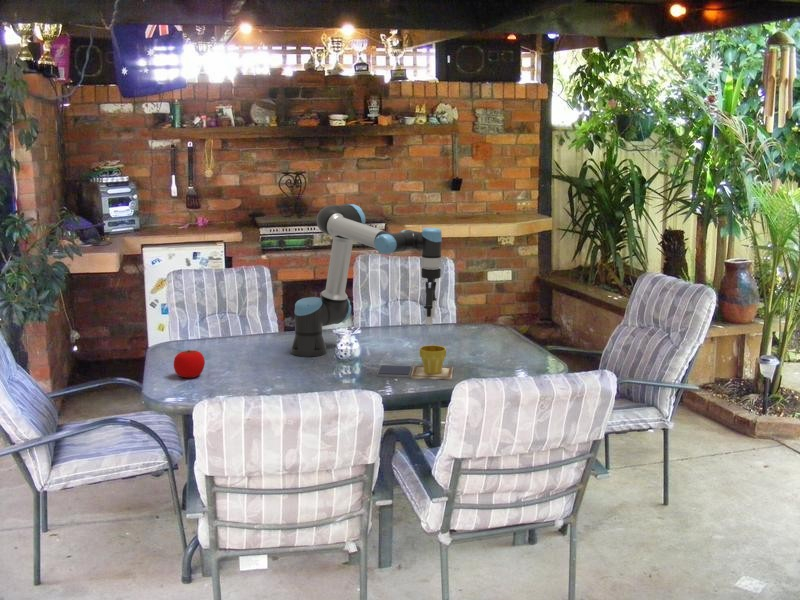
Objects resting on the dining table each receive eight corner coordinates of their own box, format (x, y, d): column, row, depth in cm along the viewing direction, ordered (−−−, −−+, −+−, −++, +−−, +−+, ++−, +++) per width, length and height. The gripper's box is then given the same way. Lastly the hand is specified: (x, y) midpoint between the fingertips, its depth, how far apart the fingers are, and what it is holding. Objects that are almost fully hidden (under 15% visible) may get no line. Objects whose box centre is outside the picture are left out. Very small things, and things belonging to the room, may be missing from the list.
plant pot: (427, 376, 354) (427, 352, 352) (414, 370, 363) (415, 346, 361) (450, 373, 359) (451, 349, 357) (437, 367, 368) (437, 343, 366)
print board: (410, 378, 354) (410, 376, 354) (413, 367, 370) (413, 365, 370) (451, 380, 353) (451, 377, 353) (453, 369, 369) (453, 366, 368)
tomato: (177, 381, 348) (176, 355, 346) (171, 374, 358) (170, 348, 356) (208, 378, 352) (207, 352, 350) (202, 370, 363) (201, 345, 361)
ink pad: (376, 376, 357) (376, 373, 357) (380, 367, 370) (380, 364, 370) (409, 377, 356) (409, 374, 356) (412, 368, 369) (412, 365, 368)
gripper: (439, 273, 343) (437, 328, 347) (442, 263, 367) (441, 314, 371) (419, 272, 343) (417, 327, 348) (423, 262, 368) (422, 313, 372)
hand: (429, 320), depth 359 cm, fingers open, 13 cm apart
